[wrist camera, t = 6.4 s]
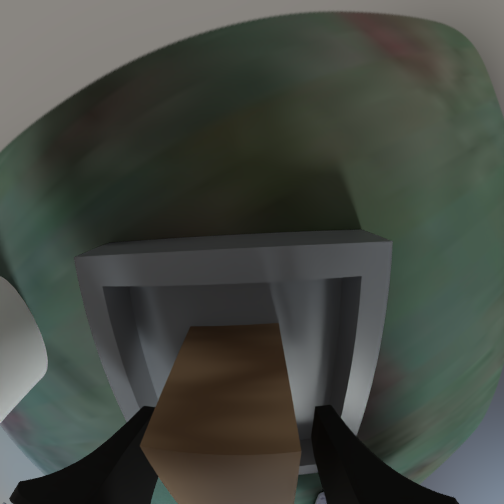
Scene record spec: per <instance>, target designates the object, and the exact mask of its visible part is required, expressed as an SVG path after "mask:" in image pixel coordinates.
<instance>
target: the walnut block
mask: <svg viewBox="0 0 504 504" xmlns="http://www.w3.org/2000/svg"><path fill="white" fill-rule="evenodd" d="M140 447H141V449H142V451H143V453H144V454H145V456H146V458H147V459H148V461H149V462H150V464H151V466H152V467H153V469H154V470H155V472H156V473H157V475H158V476H159V478H160V479H161V481H162V482H163V484H164V485H165V487H166V488H167V489H168V491H169V492H170V494H171V495H172V496H173V498H174V499H175V500H176V502H177V503H178V504H294V500H295V493H296V487H297V480H298V473H299V466H300V458H301V446H300V440H299V434H298V428H297V423H296V417H295V411H294V405H293V400H292V394H291V388H290V383H289V377H288V371H287V366H286V360H285V355H284V349H283V344H282V338H281V333H280V328H279V323H270V324H253V325H230V326H190V328H189V330H188V333H187V335H186V337H185V339H184V342H183V344H182V346H181V349H180V351H179V353H178V355H177V358H176V360H175V362H174V365H173V367H172V369H171V372H170V374H169V376H168V379H167V381H166V383H165V386H164V388H163V390H162V393H161V395H160V397H159V400H158V402H157V405H156V407H155V409H154V412H153V414H152V417H151V419H150V421H149V424H148V426H147V429H146V431H145V434H144V436H143V439H142V441H141V444H140Z"/></svg>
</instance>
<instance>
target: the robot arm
mask: <svg viewBox="0 0 504 504" xmlns="http://www.w3.org/2000/svg"><path fill="white" fill-rule="evenodd" d="M154 409H155V407H151V406H143V407H142V408H141V409H140V410H139V411H138V412H137V413H136V414H135V415H134V416H133V417H132V418H131V419H130V420H129V421H128V422H127V423H126V424H125V425H124V426H123V427H121V428H120V429H119V430H118V431H117V432H116V433H115V434H114V435H113V436H112V437H111V438H109V439H108V440H107V441H106V442H105V443H103V444H102V445H101V446H100V447H98V448H97V449H96V450H94V451H93V452H92V453H90V454H89V455H87V456H86V457H84V458H83V459H81V460H79V461H78V462H76V463H74V464H72V465H70V466H68V467H66V468H64V469H62V470H59V471H57V472H54V473H52V474H49V475H46V476H43V477H39V478H35V479H30V480H26V481H20V482H19V483H18V485H17V487H16V488H15V490H14V492H13V493H12V495H11V497H10V498H9V499H10V501H11V502H12V503H13V504H151V499H152V495H153V492H154V489H155V486H156V482H157V479H158V475H157V473H156V472H155V470H154V469H153V467H152V466H151V464H150V462H149V461H148V459H147V458H146V456H145V454H144V453H143V451H142V449H141V447H140V444H141V441H142V439H143V436H144V434H145V431H146V429H147V426H148V424H149V421H150V419H151V417H152V414H153V412H154ZM311 440H312V447H313V454H314V459H315V462H316V466H317V470H318V473H319V477H320V480H321V484H322V487H323V491H324V492H322V493H320V494H319V495H318V497H317V500H316V502H315V504H459V503H458V502H457V501H456V499H455V498H454V497H450V496H446V495H443V494H440V493H437V492H435V491H432V490H430V489H427V488H425V487H423V486H421V485H419V484H417V483H415V482H413V481H411V480H410V479H408V478H406V477H404V476H402V475H401V474H399V473H398V472H396V471H395V470H393V469H392V468H391V467H389V466H388V465H387V464H385V463H384V462H383V461H381V460H380V459H379V458H378V457H377V456H376V455H374V454H373V453H372V452H371V451H370V450H369V449H368V448H367V447H366V446H365V445H364V444H363V443H362V442H361V441H360V440H359V439H358V438H357V437H356V435H355V434H354V433H353V432H352V431H351V430H350V429H349V427H348V426H347V425H346V424H345V422H344V421H343V420H342V419H341V417H340V416H339V415H338V413H337V412H336V411H335V409H334V408H333V406H332V405H323V406H315V412H314V419H313V426H312V433H311ZM3 504H6V503H3Z"/></svg>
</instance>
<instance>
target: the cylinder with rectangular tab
mask: <svg viewBox="0 0 504 504" xmlns="http://www.w3.org/2000/svg"><path fill="white" fill-rule="evenodd" d="M47 363H48V359H47V353H46V348H45V345H44V342H43V339H42V336H41V332H40V330H39V328H38V326H37V324H36V322H35V319H34V317H33V315H32V314H31V312H30V310H29V308H28V307H27V305H26V303H25V301H24V300H23V299H22V297H21V296H20V295H19V293H18V292H17V290H16V289H15V288H14V287H13V286H12V285H11V284H10V283H9V282H8V281H7V280H6V279H4V278H3V277H1V276H0V423H1V422H2V421H3V420H4V418H5V417H6V416H7V415H8V414H9V413H10V412H11V410H12V409H13V408H14V407H15V406H16V405H17V404H18V403H19V402H20V401H21V399H22V398H23V397H24V396H25V395H26V394H27V393H28V392H29V391H30V390H31V389H32V388H33V387H34V386H35V384H36V383H37V382H38V381H39V380H40V379H41V378H42V377H43V376H44V375H45V373H46V371H47Z"/></svg>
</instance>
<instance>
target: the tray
mask: <svg viewBox="0 0 504 504" xmlns="http://www.w3.org/2000/svg"><path fill="white" fill-rule="evenodd" d="M392 242H393V241H391V240H388V239H385V238H383V237H380V236H378V235H375V234H373V233H370V232H367V231H365V230H362V229H361V230H330V231H303V232H279V233H257V234H237V235H219V236H201V237H185V238H169V239H154V240H139V241H125V242H112V243H107V244H104V245H102V246H99V247H97V248H94V249H92V250H90V251H87V252H85V253H82V254H80V255H78V256H75V257H74V260H75V266H76V271H77V276H78V281H79V286H80V290H81V295H82V299H83V303H84V307H85V311H86V315H87V318H88V322H89V325H90V329H91V332H92V336H93V339H94V342H95V345H96V348H97V351H98V354H99V357H100V360H101V362H102V365H103V368H104V371H105V373H106V376H107V378H108V381H109V383H110V386H111V388H112V391H113V393H114V395H115V398H116V400H117V402H118V404H119V407H120V409H121V411H122V413H123V415H124V417H125V419H126V421H127V422H128V421H129V420H130V419H131V418H132V417H133V416H134V415H135V414H136V413H137V412H138V411H139V410H140V409H141V408H142V407H143V406H151V407H156V405H157V402H158V400H159V397H160V395H161V393H162V390H163V388H164V386H165V383H166V381H167V379H168V376H169V374H170V372H171V369H172V367H173V365H174V362H175V360H176V358H177V355H178V353H179V351H180V349H181V346H182V344H183V342H184V339H185V337H186V335H187V333H188V330H189V328H190V326H230V325H253V324H270V323H279V328H280V333H281V338H282V344H283V349H284V355H285V360H286V366H287V371H288V377H289V383H290V388H291V394H292V400H293V405H294V411H295V417H296V423H297V428H298V434H299V440H300V446H301V458H300V466H299V473H298V475H302V474H310V473H317V472H318V470H317V466H316V462H315V459H314V454H313V447H312V440H311V433H312V426H313V419H314V412H315V406H323V405H332V406H333V408H334V409H335V411H336V412H337V413H338V415H339V416H340V417H341V419H342V420H343V421H344V422H345V424H346V425H347V426H348V427H349V429H350V430H351V431H352V432H353V433H354V434H355V435H356V436H357V433H358V430H359V427H360V424H361V421H362V418H363V414H364V411H365V408H366V404H367V401H368V397H369V393H370V389H371V385H372V381H373V377H374V373H375V369H376V364H377V360H378V355H379V350H380V345H381V339H382V334H383V328H384V321H385V315H386V308H387V300H388V292H389V283H390V272H391V259H392Z"/></svg>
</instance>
